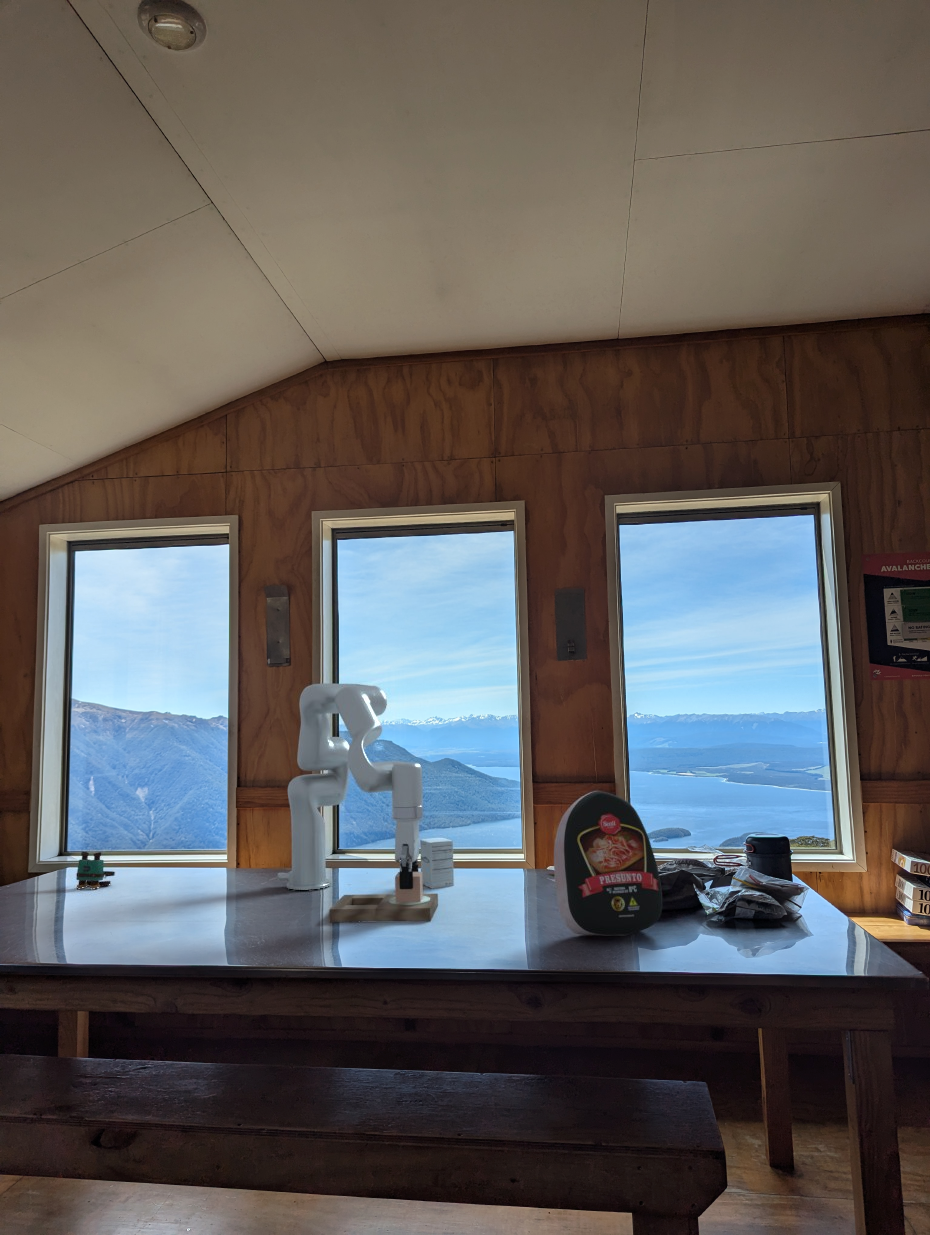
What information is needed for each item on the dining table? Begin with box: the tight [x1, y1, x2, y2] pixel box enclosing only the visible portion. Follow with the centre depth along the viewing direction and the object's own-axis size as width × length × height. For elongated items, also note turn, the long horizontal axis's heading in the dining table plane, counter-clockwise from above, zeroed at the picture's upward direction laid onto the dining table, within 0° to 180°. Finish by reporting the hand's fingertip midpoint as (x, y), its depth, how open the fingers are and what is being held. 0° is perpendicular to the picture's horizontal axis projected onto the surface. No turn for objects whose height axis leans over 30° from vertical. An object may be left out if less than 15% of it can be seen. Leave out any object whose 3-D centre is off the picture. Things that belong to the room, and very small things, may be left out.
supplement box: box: [419, 836, 455, 889], centre depth 241 cm, size 7×7×13 cm
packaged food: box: [553, 790, 663, 937], centre depth 184 cm, size 22×20×30 cm
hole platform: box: [328, 893, 439, 923], centre depth 207 cm, size 24×16×3 cm, turn 86°
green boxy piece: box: [75, 851, 116, 889], centre depth 253 cm, size 9×11×10 cm
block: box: [394, 871, 424, 902], centre depth 207 cm, size 6×6×6 cm
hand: (409, 884), depth 207 cm, fingers open, 9 cm apart
